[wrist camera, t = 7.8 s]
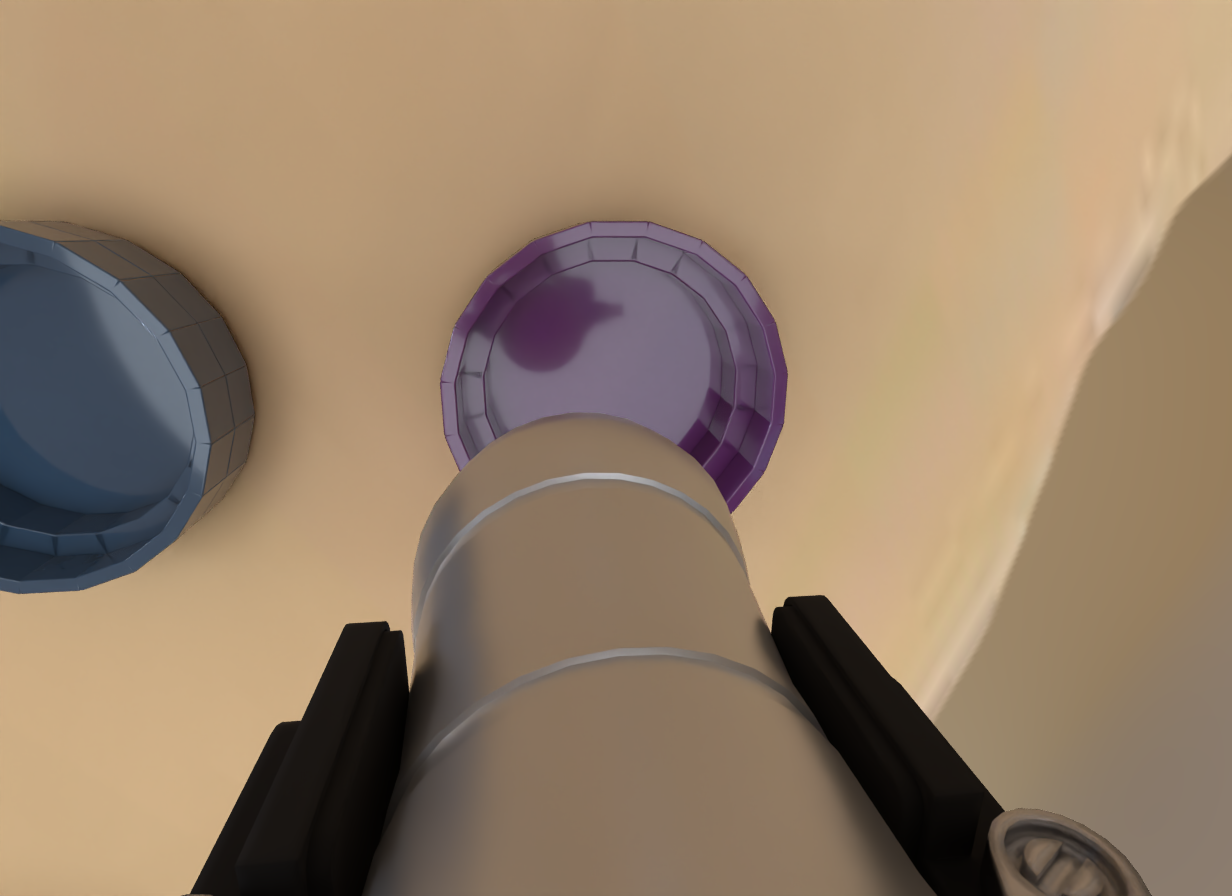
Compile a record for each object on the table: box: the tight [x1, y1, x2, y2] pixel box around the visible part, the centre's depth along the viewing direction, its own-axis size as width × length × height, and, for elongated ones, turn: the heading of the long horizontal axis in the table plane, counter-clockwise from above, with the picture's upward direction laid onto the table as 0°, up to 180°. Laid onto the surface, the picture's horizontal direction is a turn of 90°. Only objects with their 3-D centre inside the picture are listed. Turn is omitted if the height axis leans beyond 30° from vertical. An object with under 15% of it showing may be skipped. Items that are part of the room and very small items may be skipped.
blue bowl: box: [0, 220, 255, 594], centre depth 27 cm, size 14×14×5 cm
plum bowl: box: [440, 221, 788, 514], centre depth 30 cm, size 14×14×5 cm
